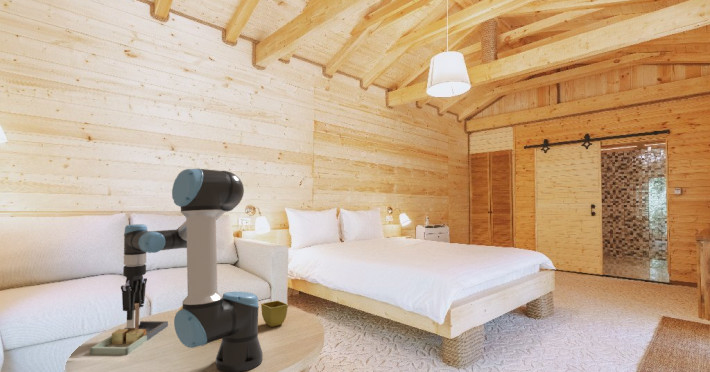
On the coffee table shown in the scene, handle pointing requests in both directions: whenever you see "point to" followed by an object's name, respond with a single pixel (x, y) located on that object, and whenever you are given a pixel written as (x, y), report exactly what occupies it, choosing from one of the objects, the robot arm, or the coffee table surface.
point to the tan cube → (119, 336)
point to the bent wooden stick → (137, 318)
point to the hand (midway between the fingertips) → (133, 326)
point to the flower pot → (274, 312)
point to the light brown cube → (133, 335)
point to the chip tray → (102, 348)
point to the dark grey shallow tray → (152, 327)
